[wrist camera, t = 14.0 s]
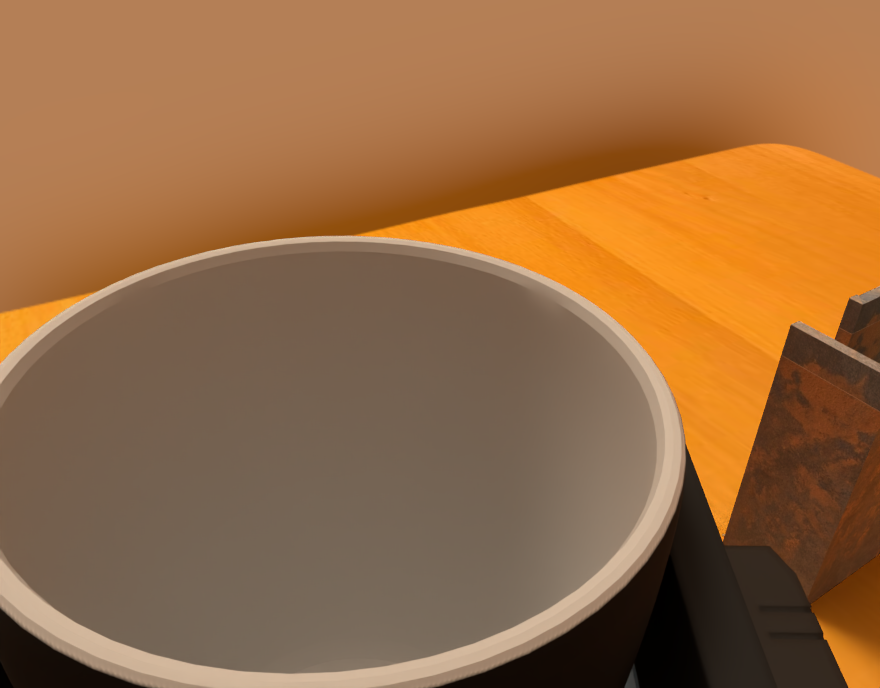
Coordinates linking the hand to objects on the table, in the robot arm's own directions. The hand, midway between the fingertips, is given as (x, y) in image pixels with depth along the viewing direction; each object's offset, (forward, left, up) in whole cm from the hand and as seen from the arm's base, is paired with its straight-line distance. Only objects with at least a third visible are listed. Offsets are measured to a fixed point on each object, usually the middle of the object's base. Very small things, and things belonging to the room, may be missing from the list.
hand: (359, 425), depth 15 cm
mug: (0, -5, -7) cm, 8 cm away
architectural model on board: (+15, +6, -8) cm, 18 cm away
